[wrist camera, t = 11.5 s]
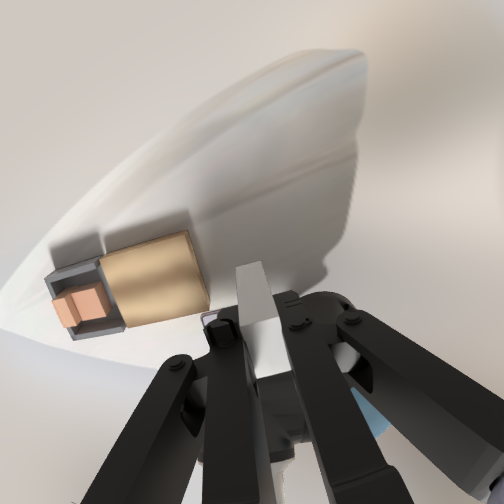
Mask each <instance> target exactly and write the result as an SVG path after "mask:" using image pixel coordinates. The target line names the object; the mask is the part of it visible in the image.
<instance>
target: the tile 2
mask: <svg viewBox="0 0 504 504" xmlns="http://www.w3.org/2000/svg"><path fill="white" fill-rule="evenodd" d="M71 296H72V298H73V300H74V303H75V305H76V307H77V310H78V312H79V314H80V316H81V318H82V321H85V320H90V319H96V318H101V317H106V316H107V315H108V313H109V312H110V311H111V309H112V306H111V303H110V301H109V298H108V296H107V294H106V291H105V288H104V286H103V283H102V281H99V282H95V283H91V284H87V285H83V286H79V287H77V288H76V289H75V290H74V291H73V292H72V293H71Z"/></svg>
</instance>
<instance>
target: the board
mask: <svg viewBox="0 0 504 504" xmlns="http://www.w3.org/2000/svg"><path fill="white" fill-rule="evenodd" d="M99 261H100V264H101V266H102V269H103V272H104V274H105V277H106V279H107V282H108V284H109V287H110V289H111V291H112V294H113V296H114V299H115V301H116V303H117V306H118V308H119V310H120V312H121V315H122V317H123V319H124V321H125V323H126V325H127V327H128V328H131V327H136V326H141V325H146V324H151V323H156V322H161V321H165V320H170V319H174V318H179V317H184V316H188V315H192V314H197V313H201V312H205V311H209V308H210V300H209V297H208V294H207V291H206V288H205V285H204V282H203V279H202V276H201V272H200V269H199V266H198V263H197V260H196V257H195V254H194V250H193V247H192V244H191V241H190V237H189V234H188V231H187V230H186V231H182V232H178V233H175V234H171V235H168V236H164V237H161V238H157V239H154V240H150V241H147V242H144V243H140V244H137V245H134V246H130V247H127V248H124V249H120V250H117V251H114V252H110V253H107V254H105V255H104V256H103V257H102V258H100V259H99Z"/></svg>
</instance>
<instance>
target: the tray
mask: <svg viewBox="0 0 504 504" xmlns="http://www.w3.org/2000/svg"><path fill="white" fill-rule="evenodd" d="M103 256H104V255H101V256H98V257H94V258H91V259H88V260H85V261H82V262H79V263H76V264H73V265H69V266H66V267H63V268H60V269H57V270H55V271H53V272H52V273H51V274H49V275H48V276H47V277H45V278H44V280H45V282H46V285H47V287H48V289H49V292H50V294H51V296H52V299H54V298H55V297H56V296H57V295H58V294H60V293H61V292H62V291H63V290H64V289H66V288H70V287H74V286H78V287H79V286H83V285H87V284H91V283H95V282H99V281H102V283H103V286H104V288H105V291H106V294H107V296H108V298H109V301H110V303H111V306H112V309H111V311H110V312H109V313H108V315H107V316H106V317H101V318H96V319H90V320H85V321H82V320H81V321H80V322H79V324H78V325H77V326H72V327H66V328H67V330H68V332H69V334H70V336H71V338H72V339H73V341H75V340H81V339H87V338H93V337H98V336H104V335H110V334H115V333H120V332H124V330H125V328H126V327H127V325H126V323H125V321H124V319H123V317H122V315H121V312H120V310H119V308H118V306H117V303H116V301H115V299H114V296H113V294H112V291H111V289H110V287H109V284H108V282H107V279H106V277H105V274H104V272H103V269H102V266H101V264H100V261H99V259H100V258H102V257H103Z"/></svg>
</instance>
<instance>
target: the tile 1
mask: <svg viewBox="0 0 504 504" xmlns="http://www.w3.org/2000/svg"><path fill="white" fill-rule="evenodd" d="M77 287H78V286H74V287H70V288H66V289H64V290H63V291H62V292H61V293H60V294H58V295H57V296H56V297H55V298H54V299H53V300H52V304H53V306H54V308H55V310H56V313H57V315H58V317H59V319H60V321H61V323H62V325H63V327H64V328H66V327H72V326H77V325H78V324H79V322H80V321H81V320H82V318H81V316H80V314H79V312H78V310H77V307H76V305H75V303H74V300H73V298H72V296H71V293H72V292H73V291H74V290H75V289H76V288H77Z"/></svg>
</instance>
